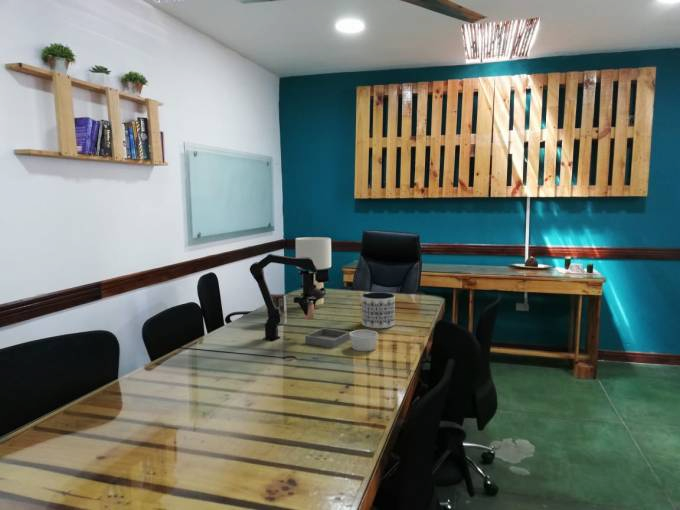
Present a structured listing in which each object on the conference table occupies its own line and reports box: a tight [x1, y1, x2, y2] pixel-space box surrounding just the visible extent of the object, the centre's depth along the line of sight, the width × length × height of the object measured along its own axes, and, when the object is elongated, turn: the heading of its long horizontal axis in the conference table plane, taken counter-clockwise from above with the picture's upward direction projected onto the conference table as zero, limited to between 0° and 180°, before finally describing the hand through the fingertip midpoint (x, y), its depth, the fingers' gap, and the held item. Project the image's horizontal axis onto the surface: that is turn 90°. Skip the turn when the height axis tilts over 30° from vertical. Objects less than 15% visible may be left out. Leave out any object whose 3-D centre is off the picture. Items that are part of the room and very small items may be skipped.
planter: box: [361, 291, 396, 329], centre depth 259 cm, size 18×18×16 cm
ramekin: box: [349, 329, 379, 352], centre depth 218 cm, size 13×13×7 cm
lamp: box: [295, 236, 332, 309], centre depth 303 cm, size 23×23×44 cm
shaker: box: [303, 300, 315, 320], centre depth 234 cm, size 5×5×8 cm
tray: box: [304, 327, 351, 349], centre depth 229 cm, size 16×16×4 cm
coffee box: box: [270, 293, 288, 325], centre depth 264 cm, size 9×6×16 cm
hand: (309, 313), depth 234 cm, fingers closed on shaker, 5 cm apart
